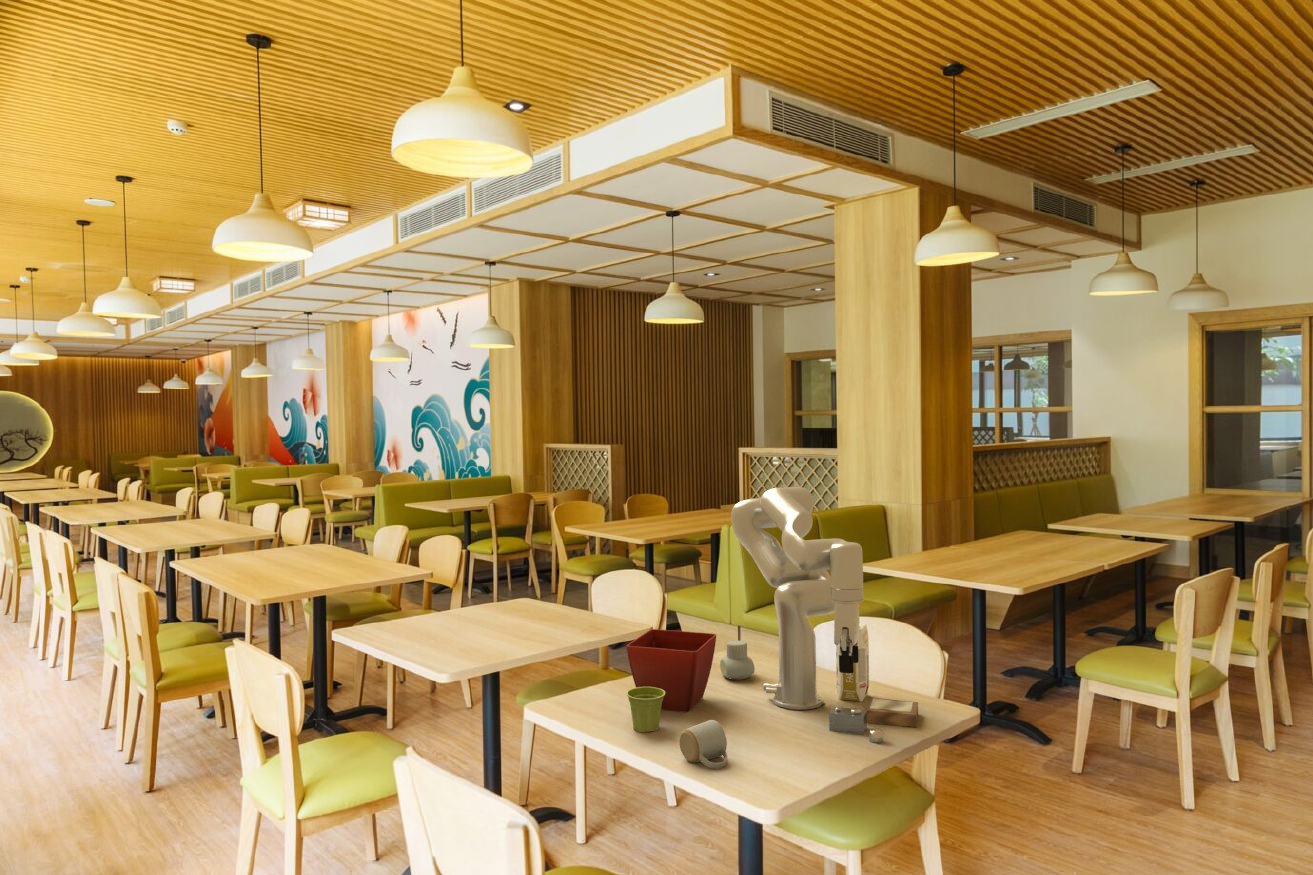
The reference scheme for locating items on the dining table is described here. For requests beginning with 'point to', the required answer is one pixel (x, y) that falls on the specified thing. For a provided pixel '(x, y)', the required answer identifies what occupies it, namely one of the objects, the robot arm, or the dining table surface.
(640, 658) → the plant pot
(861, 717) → the housing
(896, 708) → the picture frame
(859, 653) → the juice carton
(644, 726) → the plant pot
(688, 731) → the ceramic mug
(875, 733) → the cylinder
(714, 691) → the dining table surface
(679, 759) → the dining table surface
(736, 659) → the air freshener
